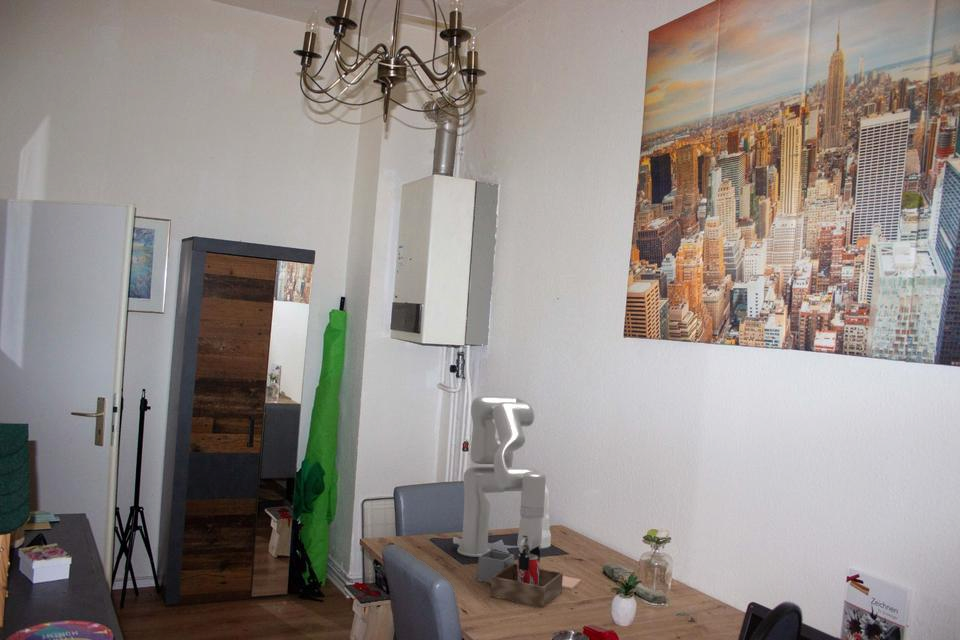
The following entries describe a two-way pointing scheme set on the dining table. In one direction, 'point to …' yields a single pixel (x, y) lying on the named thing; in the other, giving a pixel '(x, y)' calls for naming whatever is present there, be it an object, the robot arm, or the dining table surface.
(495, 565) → the charcoal crate
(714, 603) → the dining table surface
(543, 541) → the decorative vase
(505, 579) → the walnut crate
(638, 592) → the long grey stone
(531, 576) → the soda can
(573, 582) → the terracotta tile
